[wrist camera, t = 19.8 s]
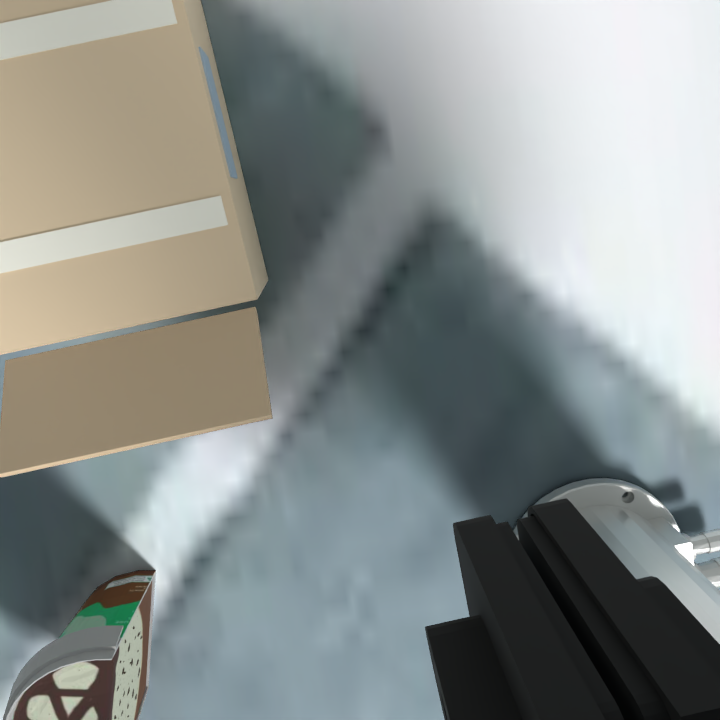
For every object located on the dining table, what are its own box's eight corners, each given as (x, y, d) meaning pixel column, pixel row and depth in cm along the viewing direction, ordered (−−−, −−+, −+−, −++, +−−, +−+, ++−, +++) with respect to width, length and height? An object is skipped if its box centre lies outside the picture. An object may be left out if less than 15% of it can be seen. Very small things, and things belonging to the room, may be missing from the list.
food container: (62, 543, 43) (-11, 642, 34) (157, 550, 44) (112, 650, 34) (58, 700, 46) (-10, 833, 36) (147, 704, 47) (103, 837, 37)
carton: (191, -45, 35) (156, -115, 28) (270, 279, 40) (259, 299, 32) (-46, 4, 35) (-149, -52, 27) (60, 324, 40) (-3, 355, 32)
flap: (270, 414, 29) (272, 418, 30) (255, 306, 32) (257, 311, 33) (-4, 474, 29) (1, 477, 30) (5, 360, 32) (9, 364, 32)
